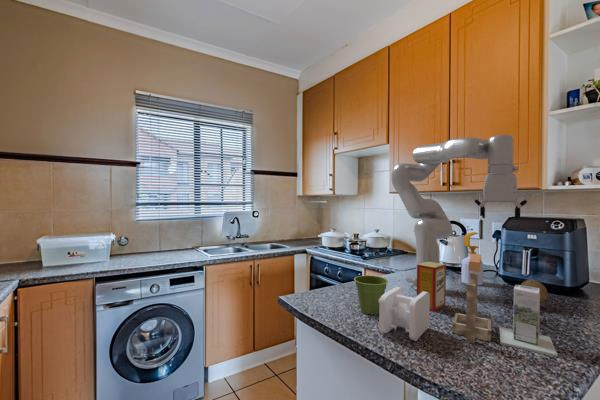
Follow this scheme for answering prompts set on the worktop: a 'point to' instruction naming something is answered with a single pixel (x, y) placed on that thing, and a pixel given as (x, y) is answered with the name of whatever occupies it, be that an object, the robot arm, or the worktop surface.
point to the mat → (543, 347)
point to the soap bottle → (465, 262)
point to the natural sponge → (537, 285)
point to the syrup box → (526, 314)
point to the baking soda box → (432, 283)
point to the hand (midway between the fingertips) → (499, 218)
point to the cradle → (472, 316)
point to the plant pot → (370, 292)
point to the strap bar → (475, 262)
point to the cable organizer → (404, 312)
